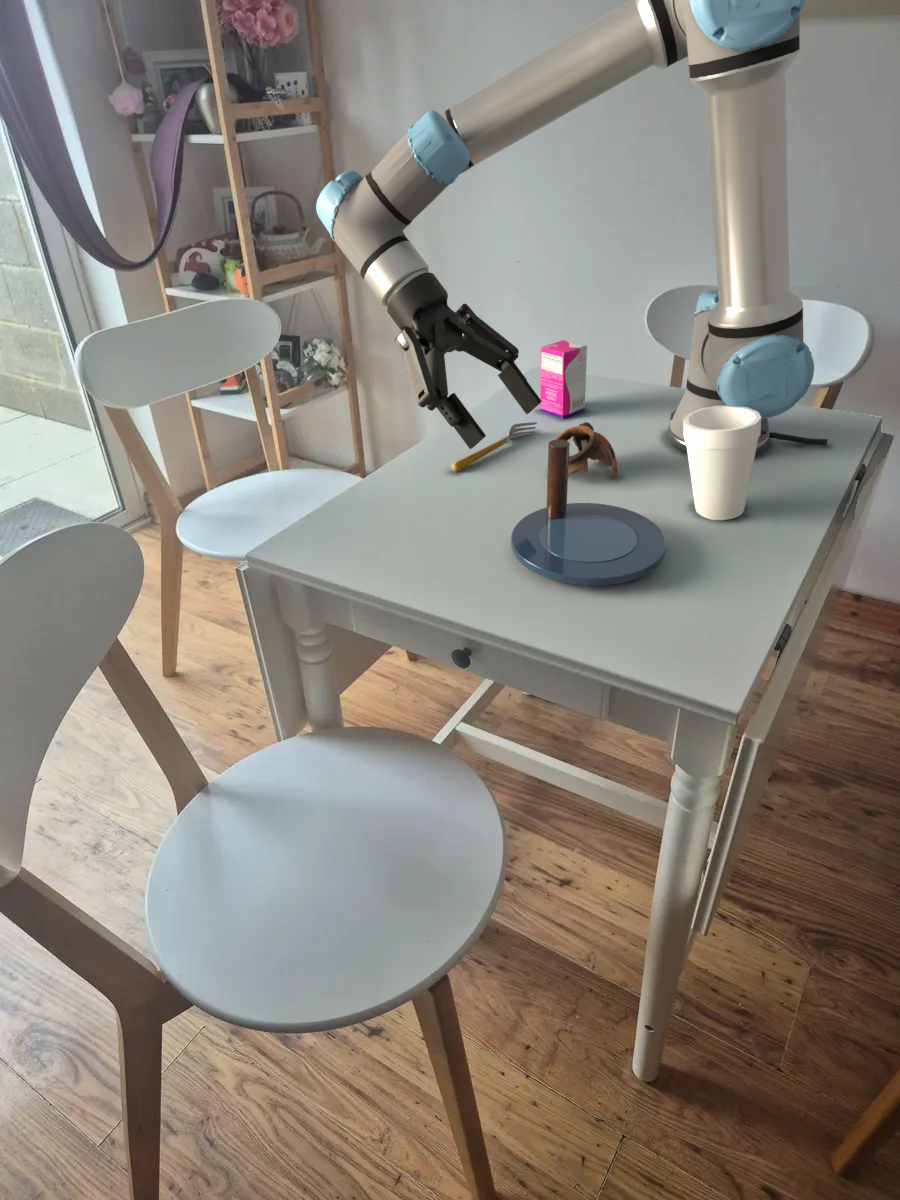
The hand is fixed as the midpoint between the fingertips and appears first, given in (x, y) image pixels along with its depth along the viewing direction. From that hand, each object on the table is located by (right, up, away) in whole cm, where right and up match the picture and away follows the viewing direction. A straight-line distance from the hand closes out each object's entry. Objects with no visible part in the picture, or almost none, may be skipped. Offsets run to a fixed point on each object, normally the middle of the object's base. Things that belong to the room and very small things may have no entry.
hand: (507, 424), depth 104 cm
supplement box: (+12, +11, +39) cm, 42 cm away
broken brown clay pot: (+13, -3, +18) cm, 22 cm away
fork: (0, +1, +25) cm, 25 cm away
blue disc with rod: (+10, -16, -3) cm, 19 cm away
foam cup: (+29, -10, +6) cm, 32 cm away
